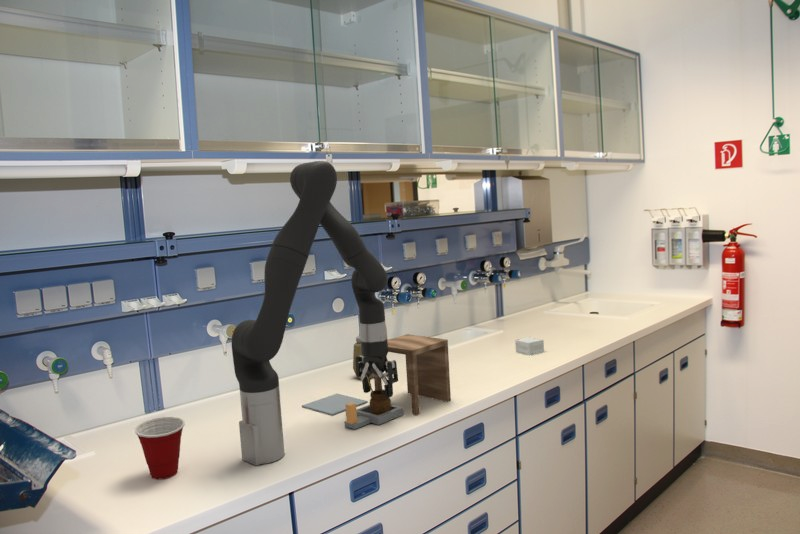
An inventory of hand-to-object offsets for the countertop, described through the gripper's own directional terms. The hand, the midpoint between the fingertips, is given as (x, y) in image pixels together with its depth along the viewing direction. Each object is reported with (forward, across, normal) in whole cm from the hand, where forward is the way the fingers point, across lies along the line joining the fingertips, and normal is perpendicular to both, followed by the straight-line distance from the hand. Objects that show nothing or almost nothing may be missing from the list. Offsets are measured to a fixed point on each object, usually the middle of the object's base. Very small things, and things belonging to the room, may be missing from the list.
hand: (378, 394), depth 173 cm
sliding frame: (+6, 0, -3) cm, 7 cm away
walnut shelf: (+7, 0, +14) cm, 16 cm away
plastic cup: (+6, -14, -56) cm, 58 cm away
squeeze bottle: (+7, -33, +26) cm, 43 cm away
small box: (+8, -3, +84) cm, 85 cm away
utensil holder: (+7, 0, 0) cm, 7 cm away
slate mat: (+6, -19, 0) cm, 20 cm away
